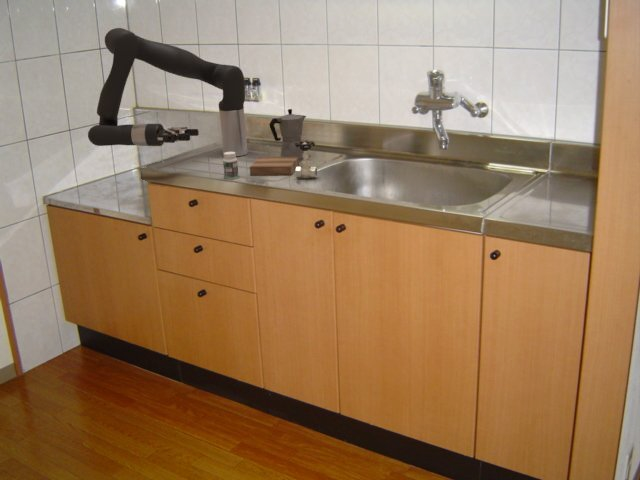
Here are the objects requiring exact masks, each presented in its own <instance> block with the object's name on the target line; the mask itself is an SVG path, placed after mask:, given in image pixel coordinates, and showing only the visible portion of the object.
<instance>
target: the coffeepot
mask: <svg viewBox="0 0 640 480" xmlns="http://www.w3.org/2000/svg"><path fill="white" fill-rule="evenodd" d="M287 113H288V114H285V115H282V116H279V117H274V118H272V119H271V121H270V122H269V124H268V125H269V128H270V131H271V133H272V136H273V138H274V141H275V142H279V141H281V139H282V141H281V149H280V157H298V160H299V161H301V160H302V161H303V159H304V158H303V155H302V154H303V153H304V151H302V150H301V149H300V146H299V147H296V146H295V142H299V141H302V135H303V124H304V120H305V119H306V118H307V115H302V114H294V113H293V109H292V108H291V109H290V108H289V109H287ZM276 124H278V126H279V130H280V135H281V137H282V138H281V137H278V133H277V131H276V127H275V125H276Z"/></svg>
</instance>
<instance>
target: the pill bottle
mask: <svg viewBox="0 0 640 480" xmlns="http://www.w3.org/2000/svg"><path fill="white" fill-rule="evenodd" d="M222 164H223V174H224V178H225V179H227V180H234V179H237V178H239V175H240V174H239V164H238V158H237V156H236V153H235V152H225V153H224V155H223V159H222Z"/></svg>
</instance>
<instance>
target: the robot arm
mask: <svg viewBox="0 0 640 480" xmlns="http://www.w3.org/2000/svg"><path fill="white" fill-rule="evenodd" d="M104 44H105V47H106V48H107V50H108V51H109V53H111V54H112V55H113V57H112V63H111V69H110V71H109V74H108V77H107V79H106V80H105V82H104V83H103V86H102V88H101V91H100V95H99V98H98V99H99V100H98V103H97V108H96V114H97V115H98V116H99V122H98V124H96V125H93V126H92V127H90V129H89V130H88V132H87V137H88V140H89V142H90V143H91V144H93V145H95V146H98V147H107V146H108V147H109V146H119V145H120V146H140V147H162V146H163V145H164V144H165V143H169V144H170V143H172V144H174V143H177V142H182V141H183V142H188V141H190V140H191V137H192V136H193V137H197V136H199V135H200V133H199V129H198V128H188V127H187V126H185V127H184V126H183V127H181V126H180V127H168V128H167V129H165V128H164V126H163V125H162V124H161V123H137V124H136V123H135V124H119V125H118V123H119V121H118V119H119V118H118V116H119V112H120V108H121V104H122V98H123V94H124V90H125V88H126V84H127V81H128V78H129V76H130V73H131V71H132V67H133V65H134V62H135V61H136V60H138V61H142V62H144V63H146V64H149V65H151V66H152V67H155V68H157V69H159V70H161V71H164V72H166V73H169V74H172V75H175V76H179V77H181V78H186V79H193V80H197V81H201V82H203V83H206V84H208V85H210V86H213V87H215V88H216V89H219V90H221V91H222V99H221V100H220V101H219V102H218V111H219V122H220V132H221V133H220V134H221V145H222V154H223V156H224V153H225V152H235V153H236V157H242V156H245V155H247V154H248V145H247V144H248V143H247V130H246V119H245V106H244V104H245V100H246V89H245V88H246V87H245V86H246V85H245V76H244V73H243V71H242V69H241V68H240V67H239V66H236V65H230V64H220V63H216V62H211V61H207V60H204V59H203V58H201V57H200V56H198V55H196V54H195V53H193V52H191V51H188V50H187V49H184V48H180V47H177V46H176V45H175V46H174V45H170V44H167V43H163V42H159V41H154V40H153V41H152V40H149V39H147V38H143V37H141V36H139V35H136V34H135V33H134V32H133V31H130V30H129V29H128V30H127V29H125V28H122V27H115V28H112V29H110V30H109V31H107V32H106V34H105V36H104ZM182 131H184V132H182Z"/></svg>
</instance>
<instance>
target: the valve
mask: <svg viewBox="0 0 640 480" xmlns="http://www.w3.org/2000/svg"><path fill="white" fill-rule="evenodd" d="M315 145H316V144H315V142H314V141H313V140H310V141H309V140H304V141H302V140H301V141H299V142H295V146H296V147H299V146H300V149H301V150H302V151H304V153H303V154H302V155H303V158H304V159H302V161H301V162H300V165H301V166H298V167H296V170H295V171H294V173H295V178H296V179H305V180H308V179H310V178H311V179H317V177H318V168H317V167H316V166H310V165H311V161H310V160H309V153H308V151H309V150H311V149H312V147H315Z"/></svg>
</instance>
